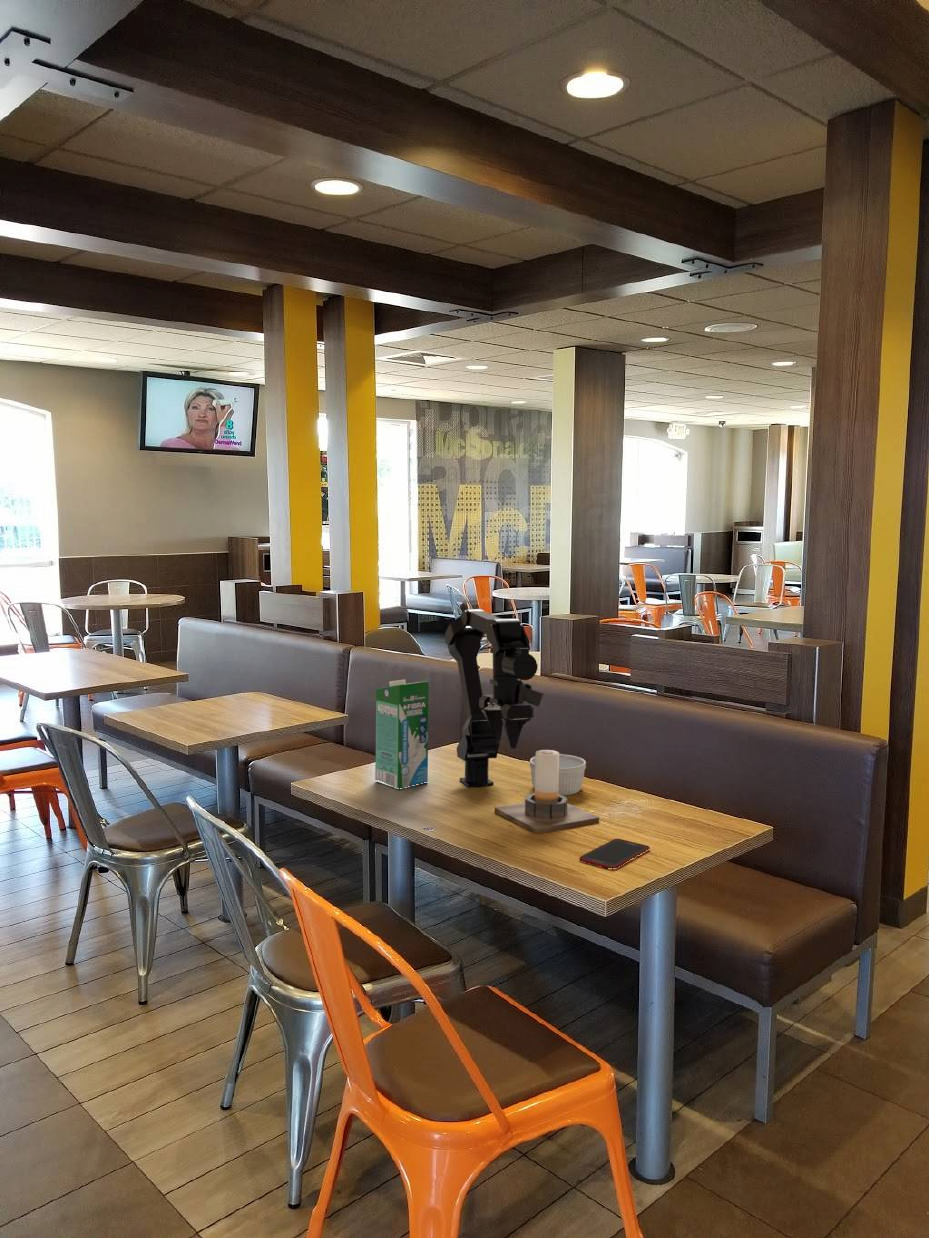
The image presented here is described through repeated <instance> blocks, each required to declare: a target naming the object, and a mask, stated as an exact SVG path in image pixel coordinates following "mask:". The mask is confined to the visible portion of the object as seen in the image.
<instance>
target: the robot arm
mask: <svg viewBox="0 0 929 1238" xmlns="http://www.w3.org/2000/svg"><path fill="white" fill-rule="evenodd" d="M485 635H486V640H487V641H488V642H489V643H490V644H491V646H492V647H491V648H490V650H489V653H490V654H492V678H489V684H490V685H492V693H491V694H483V689H482V684H481V677H480V671H479V664H478V658H477V657H478V655H479V652H480V650H481V649H482V640H483V638H484V636H485ZM444 641H445V644H446V645H447V648H448V653H449V655H450V656H451V657H452V658H453V659H454V661H455V662H456V663H457V669H458V675H459V681H460V685H461V686H460V687H461V692H462V698H463V705H464V711H465V717H466V721H465V722H464V726H463V728H462V731H461V736H462V737H461V739H460V740H459V743H458V744H457V747H456V756H457V758H459V759H460V760H462V761H463V762H464V777H460V778H459V782H461V783H463V784H464V785H466V786H467V787H470V788H472V787H481V786H490V785H491V786H493V785H494V781H492V780H491V779H489V773H490V772H489V771H490V770H489V768H490V767H489V766H490V765H489V764H490V763H489V762H490V759H497V757H498V753H499V748H500V741H501V740H502V735H503V728H504V731H505V733H506V739H507V740H508V744H509V746H510V749H512V750H513V749H517V745H518V742H519V740H520V735H521V734H522V733H521V732H522V729H523V727H524V725H526V723H528V722H530V721H531V720H532V719H533V718H535V708H534V707H533V706H535V707H538V708H539V707H540V706H541V704H542V700H543V698H544V697H543V696H544V693H543V692H539V691H537V690H534V689H533V687H532V684H529V683H526V682H523V681H529V680H531V679H532V678H534V677H535V675H537V674H536V673H537V671H538V668H539V667H538V662H537V660H536V658H535V657H534V655H531V654H530V650H531V647H530V643H531V641H530V638H529V637H528V634H527V633H526V630H525V628H524V625H523V623H522V621H521V620H520V619H519V618H500V617H498V616H495V615H494V614H490V613H489V612H486V611H485V610H484V609H481V608H474V609H473V608H470V609H469V608H468V609H464V610H463V611H462V612H461V614H460V615H459V616H458V617H457V618H455V619H454V620H452V621H451V622H450V623H449V625H448V627H447V628H446V631H445V634H444Z"/></svg>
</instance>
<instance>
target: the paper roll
mask: <svg viewBox="0 0 929 1238" xmlns="http://www.w3.org/2000/svg"><path fill="white" fill-rule="evenodd" d="M559 754H560V752H559V751H557V750H554V749H552V750H551V749H541V750H537V751H535V756H536V760H535V788H534V793H533V794H534V799H535V802H537V803H548V804H552V803H557V802H558V794H559V790H558V785H559Z"/></svg>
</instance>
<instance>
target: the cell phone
mask: <svg viewBox="0 0 929 1238" xmlns="http://www.w3.org/2000/svg"><path fill="white" fill-rule="evenodd" d="M648 849H650V846H649V845H646V844H641V843H638V842H635V841H631V840H626V839H622V838H614V839H611V840H610V841H608V842H606V843H604V844H601V845H600V846H598V847H596V848H594V849H592V850H591V851H589V852H587V853H584V854H583V855H581V856H579V858H578V861H579V860H580V861H583V862H586V863H585V864H588V863H590V864H596V865H598V866H601V867H604V868H612V869H613V868H618V867H619V866H621V865H623V864H624V863H626V862H627V861H629V860H630V859H632V858H635V857H636V856H637V855H640V854H641V853H643V852H645V851H646V850H648ZM580 861H579V862H580ZM583 862H582V863H583ZM590 864H589V865H590ZM598 866H597V867H598ZM601 867H600V868H601ZM618 869H619V868H618Z"/></svg>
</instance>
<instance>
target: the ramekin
mask: <svg viewBox="0 0 929 1238" xmlns="http://www.w3.org/2000/svg"><path fill="white" fill-rule="evenodd" d="M535 760H536V755H535V756H533V757H531V758H530V760H529V767H530V776H531V784H532V787H533V788H534V789H535ZM586 768H587V761H586V760H585V759H584V758H582V757H579V756H575V755H571V754H564V753H563V754H562V753H559V785H558V790H559V795H562V796H571V795H575V794H577V793H579V792H580V790H582V787H583V782H584V777H585V770H586Z"/></svg>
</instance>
